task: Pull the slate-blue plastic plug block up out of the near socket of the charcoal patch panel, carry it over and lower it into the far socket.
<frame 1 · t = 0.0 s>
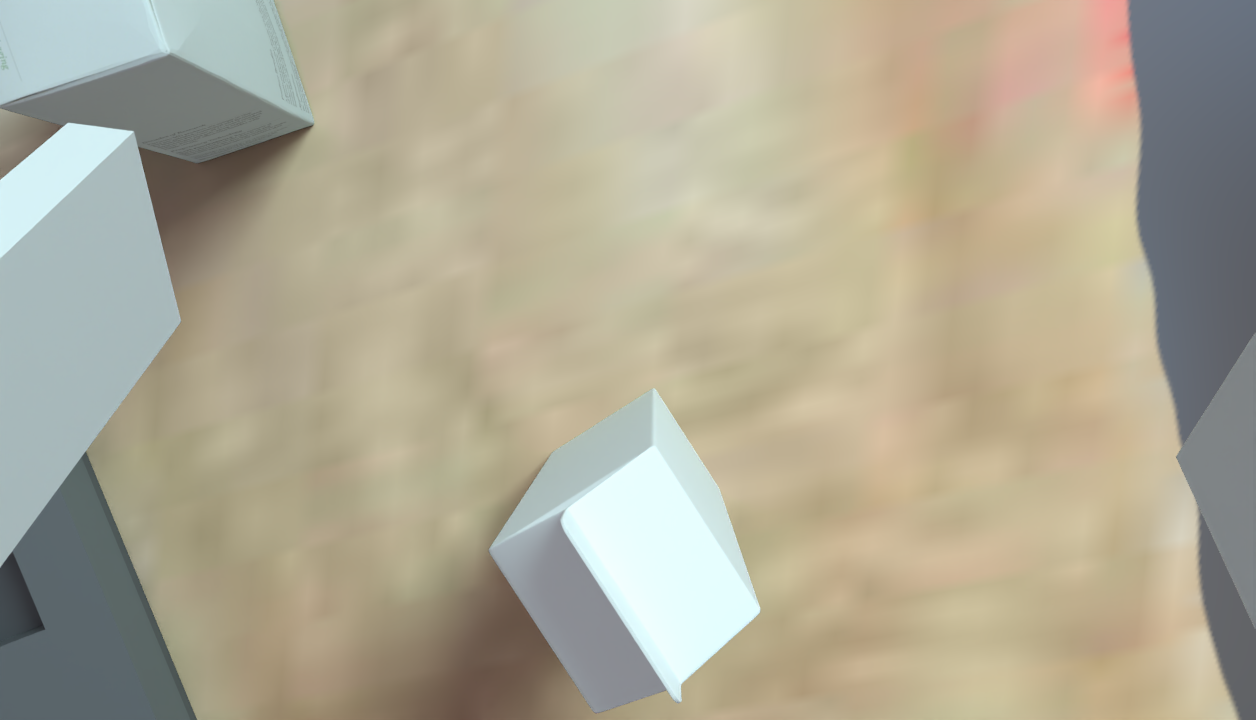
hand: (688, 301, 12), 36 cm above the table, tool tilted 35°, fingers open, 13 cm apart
milk: (635, 470, 49), on the table
skincare box: (236, 68, 48), on the table
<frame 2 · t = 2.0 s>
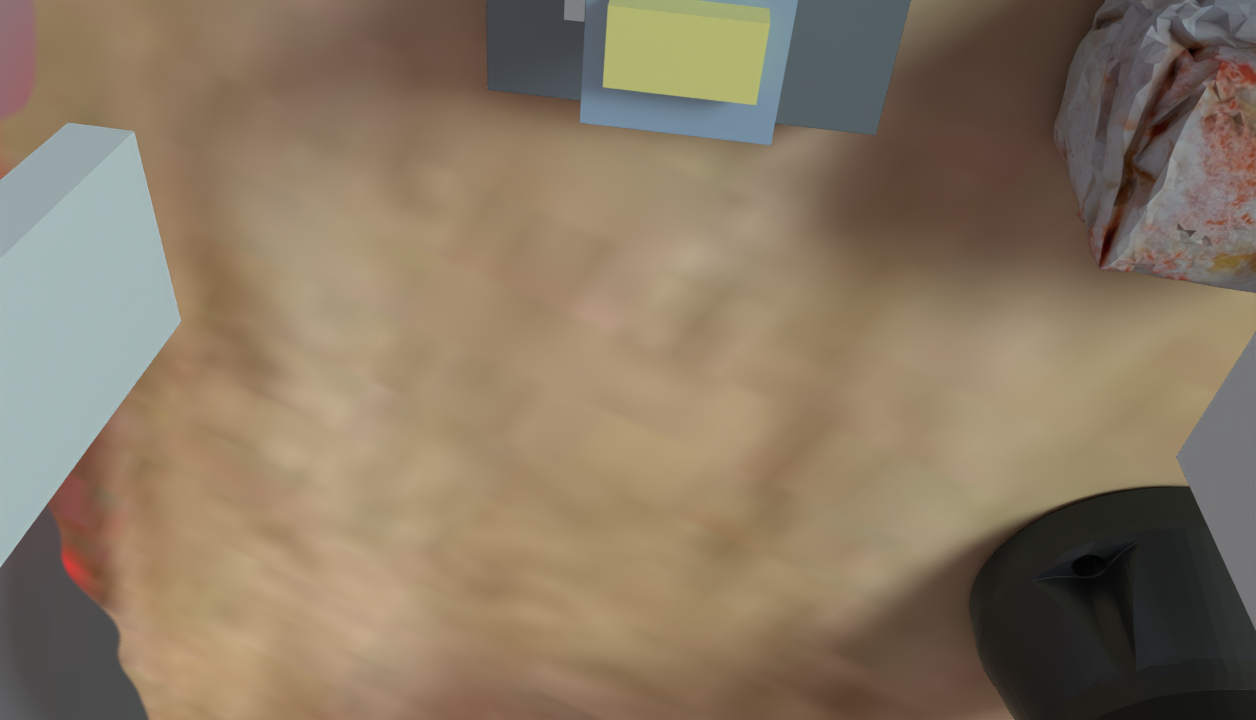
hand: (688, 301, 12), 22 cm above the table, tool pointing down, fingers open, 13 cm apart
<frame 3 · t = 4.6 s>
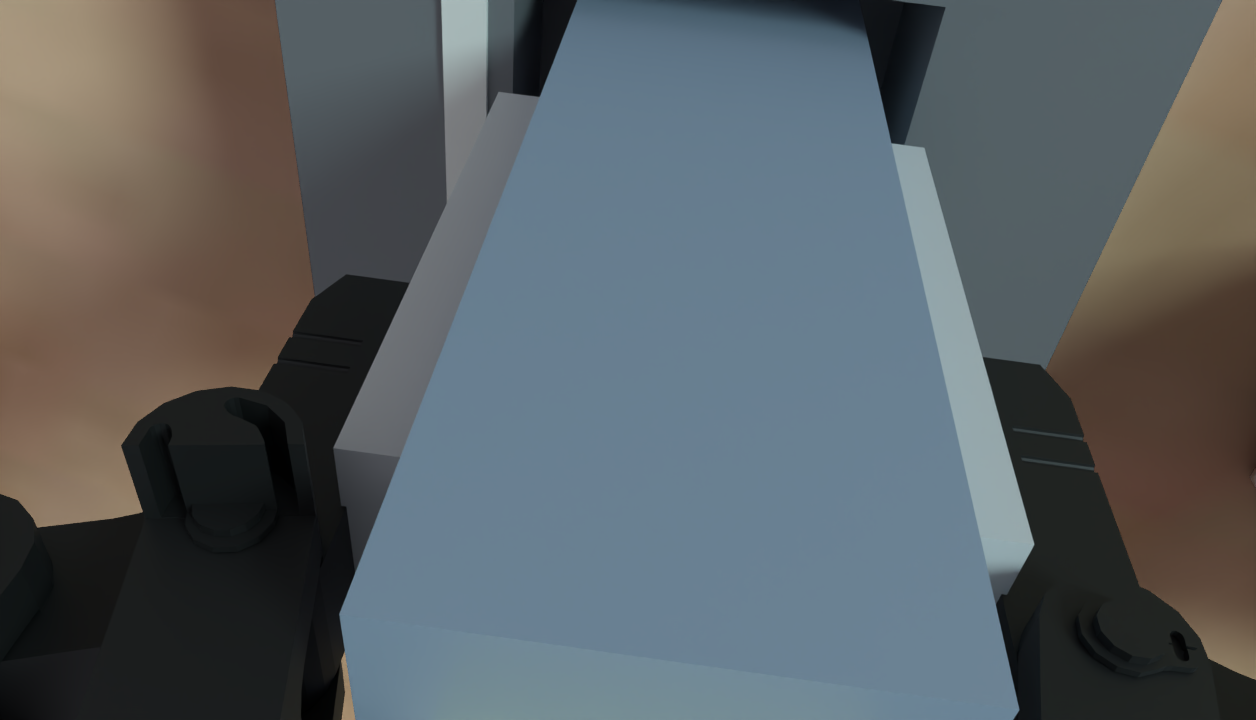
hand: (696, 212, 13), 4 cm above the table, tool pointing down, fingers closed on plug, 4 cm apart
plug: (706, 97, 16), point 1 cm above the table, touching gripper, panel
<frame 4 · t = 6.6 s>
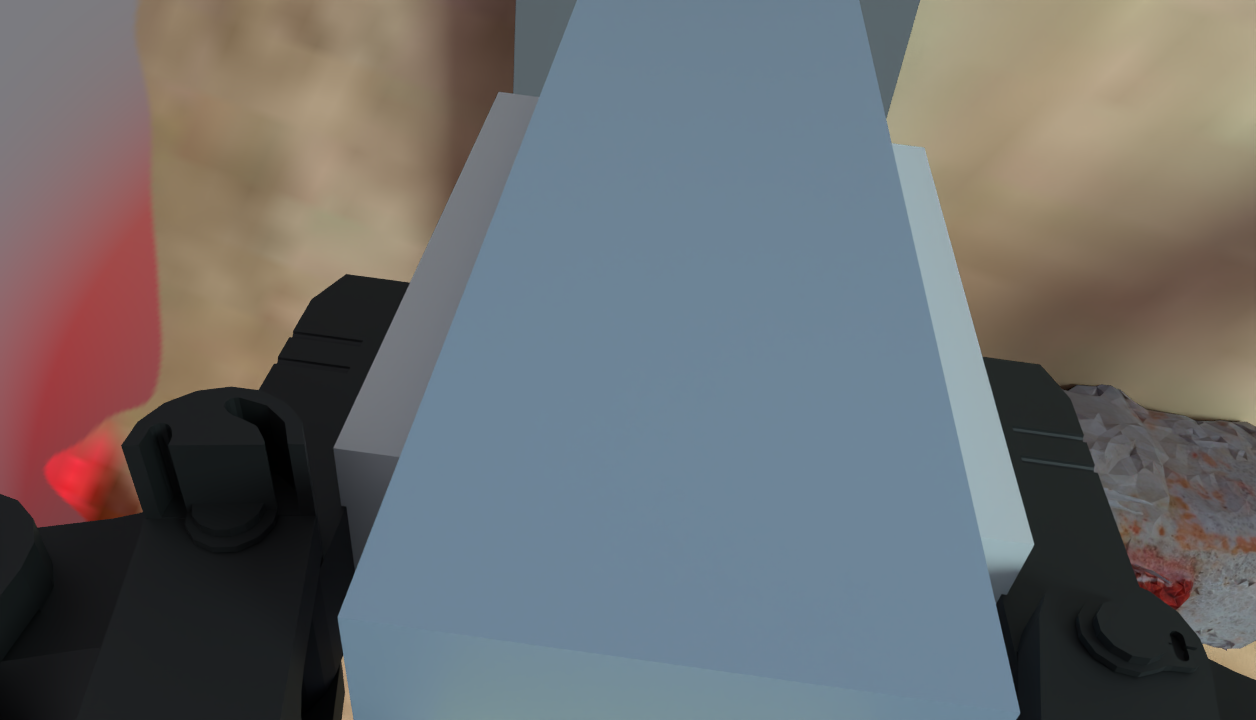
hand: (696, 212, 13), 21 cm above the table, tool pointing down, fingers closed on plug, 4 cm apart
panel: (697, 93, 35), on the table
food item: (1069, 433, 43), on the table
plug: (706, 97, 16), point 18 cm above the table, touching gripper
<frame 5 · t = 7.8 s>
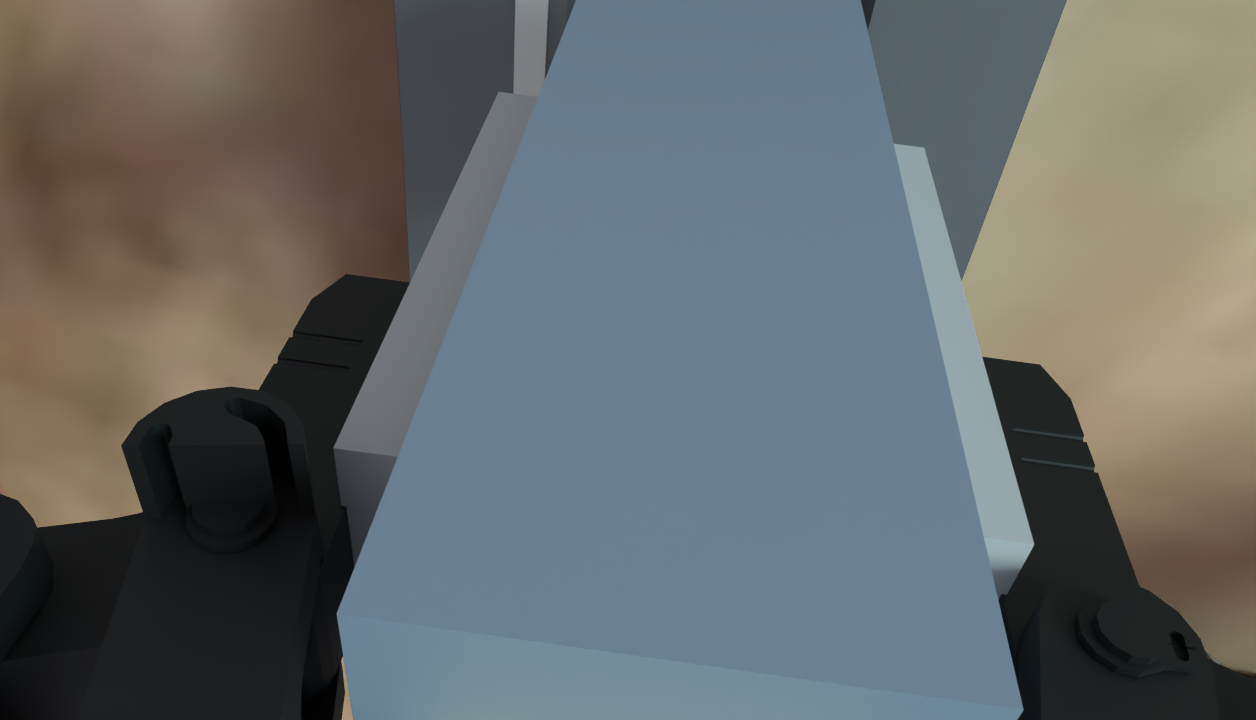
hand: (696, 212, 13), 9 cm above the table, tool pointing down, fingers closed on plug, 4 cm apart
panel: (666, 327, 27), on the table
plug: (706, 95, 16), point 6 cm above the table, touching gripper
when the fingers open (5 cm above the table, at t = 8.9 s): plug drops 1 cm, resting on panel.
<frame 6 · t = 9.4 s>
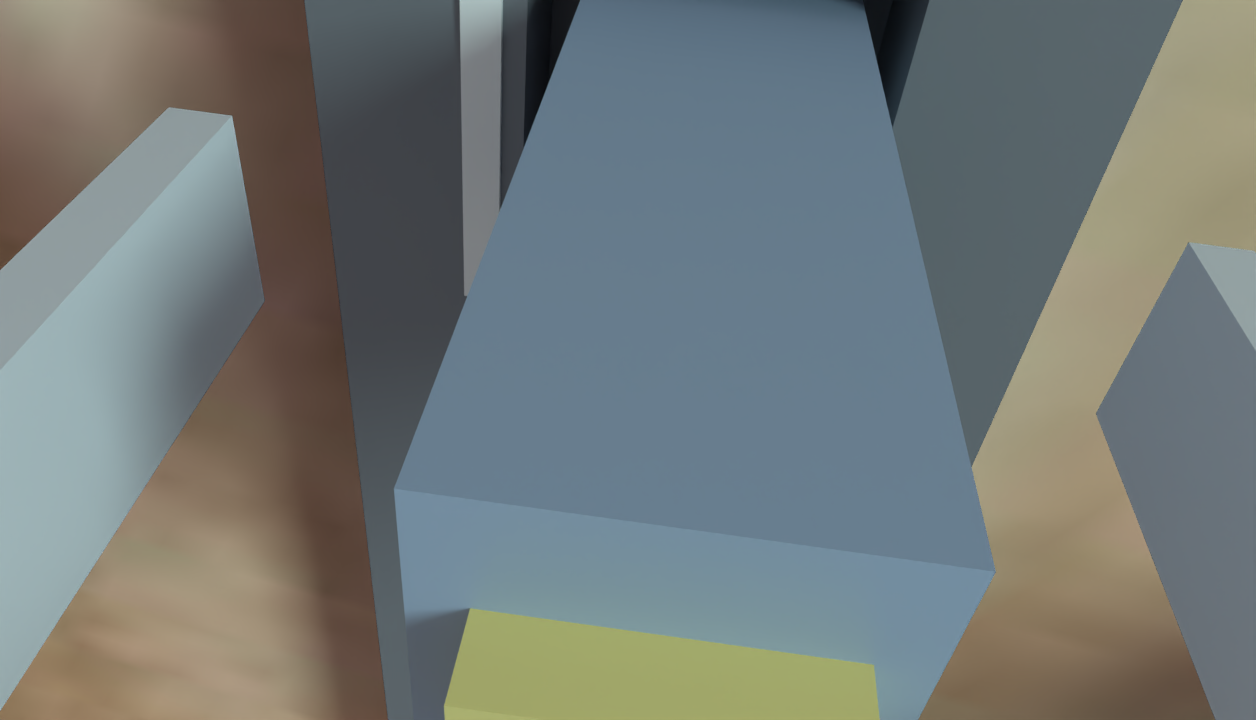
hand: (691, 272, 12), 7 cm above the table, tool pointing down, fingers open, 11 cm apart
panel: (653, 428, 23), on the table
plug: (711, 71, 17), resting on panel
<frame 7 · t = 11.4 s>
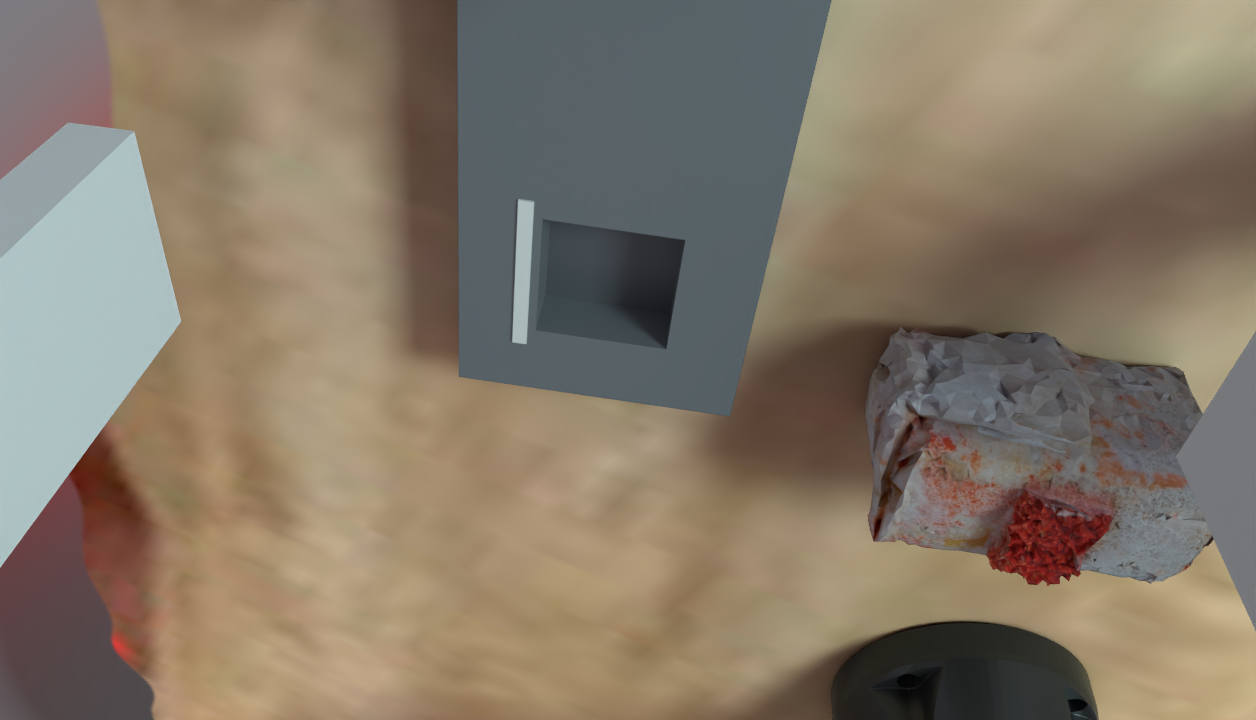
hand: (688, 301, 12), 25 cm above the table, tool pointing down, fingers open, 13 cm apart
panel: (639, 40, 36), on the table
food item: (1008, 380, 45), on the table
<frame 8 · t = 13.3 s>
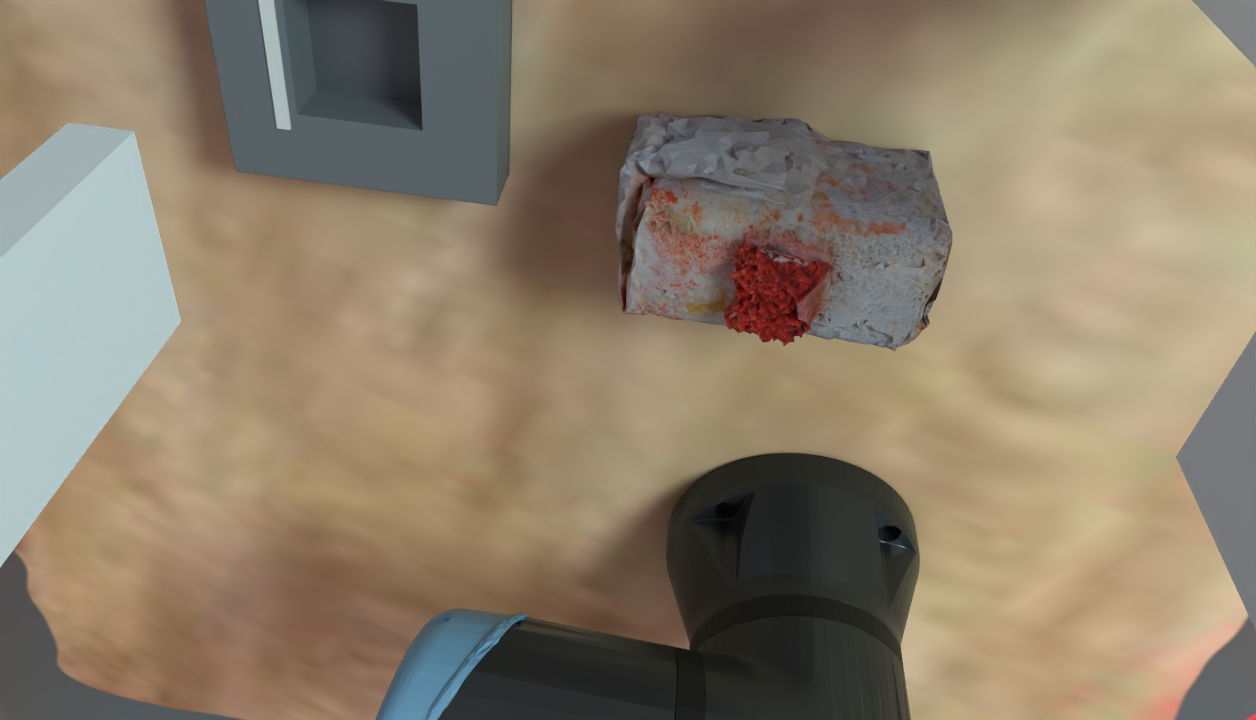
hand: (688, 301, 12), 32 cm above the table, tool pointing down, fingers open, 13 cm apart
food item: (774, 176, 46), on the table
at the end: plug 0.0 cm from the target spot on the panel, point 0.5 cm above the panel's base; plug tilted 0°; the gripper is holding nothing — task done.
